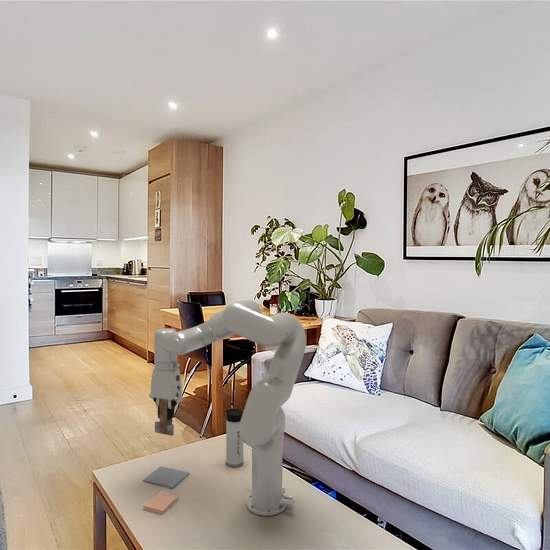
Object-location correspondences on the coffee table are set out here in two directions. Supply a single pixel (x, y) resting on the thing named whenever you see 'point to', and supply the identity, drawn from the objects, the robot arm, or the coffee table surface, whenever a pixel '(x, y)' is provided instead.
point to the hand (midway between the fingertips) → (165, 417)
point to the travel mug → (234, 438)
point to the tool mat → (166, 477)
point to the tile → (160, 503)
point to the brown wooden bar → (164, 420)
